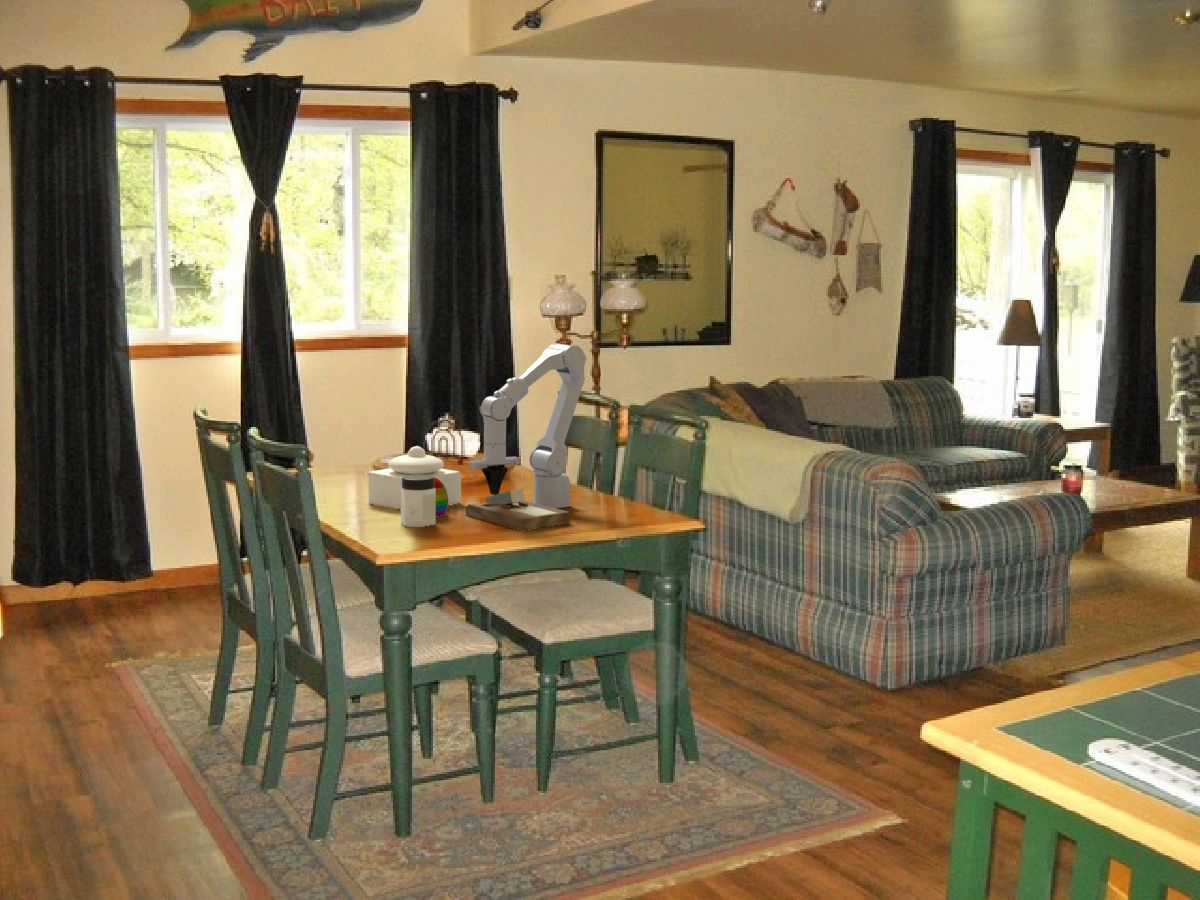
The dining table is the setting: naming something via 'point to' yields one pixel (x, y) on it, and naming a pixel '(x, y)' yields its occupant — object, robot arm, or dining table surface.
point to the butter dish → (389, 480)
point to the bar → (505, 498)
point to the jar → (418, 501)
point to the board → (517, 515)
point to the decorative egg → (440, 497)
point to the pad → (533, 511)
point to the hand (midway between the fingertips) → (494, 494)
